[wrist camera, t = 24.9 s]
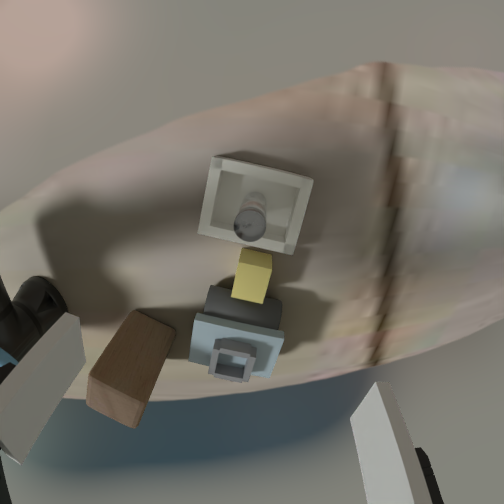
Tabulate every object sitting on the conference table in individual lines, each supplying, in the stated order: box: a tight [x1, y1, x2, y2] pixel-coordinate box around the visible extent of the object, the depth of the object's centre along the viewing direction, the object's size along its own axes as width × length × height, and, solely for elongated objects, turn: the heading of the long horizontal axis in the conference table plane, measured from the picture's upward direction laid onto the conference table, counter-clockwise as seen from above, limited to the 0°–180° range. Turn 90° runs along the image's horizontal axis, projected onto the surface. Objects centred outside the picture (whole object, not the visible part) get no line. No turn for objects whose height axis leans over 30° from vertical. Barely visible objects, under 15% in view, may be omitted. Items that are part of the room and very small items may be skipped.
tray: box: [198, 156, 314, 255], centre depth 44 cm, size 15×12×4 cm
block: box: [86, 310, 176, 428], centre depth 47 cm, size 10×10×20 cm
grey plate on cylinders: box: [189, 285, 284, 383], centre depth 48 cm, size 14×15×12 cm
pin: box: [234, 192, 267, 242], centre depth 39 cm, size 4×4×13 cm
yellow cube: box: [231, 248, 272, 304], centre depth 47 cm, size 5×6×6 cm
